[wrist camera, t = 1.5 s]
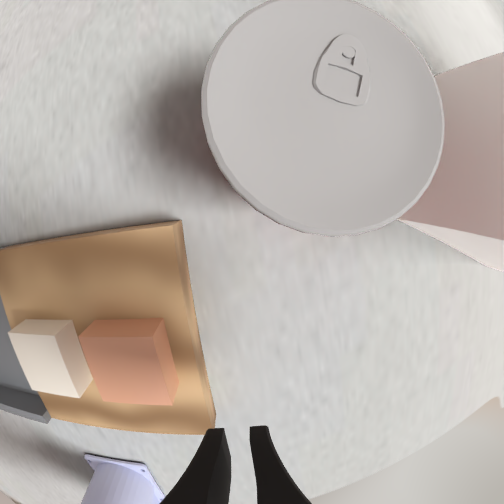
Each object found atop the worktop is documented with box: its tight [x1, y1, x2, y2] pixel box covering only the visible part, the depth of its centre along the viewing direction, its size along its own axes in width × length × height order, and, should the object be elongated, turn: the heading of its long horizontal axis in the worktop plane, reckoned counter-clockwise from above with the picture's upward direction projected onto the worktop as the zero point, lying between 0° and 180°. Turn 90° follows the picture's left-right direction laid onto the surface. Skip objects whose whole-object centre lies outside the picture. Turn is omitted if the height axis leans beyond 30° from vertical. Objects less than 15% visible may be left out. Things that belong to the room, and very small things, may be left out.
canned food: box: [201, 0, 445, 237], centre depth 12 cm, size 8×8×11 cm
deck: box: [0, 220, 216, 435], centre depth 19 cm, size 16×16×2 cm
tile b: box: [8, 319, 93, 398], centre depth 17 cm, size 5×5×2 cm
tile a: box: [78, 318, 179, 406], centre depth 17 cm, size 5×5×2 cm
